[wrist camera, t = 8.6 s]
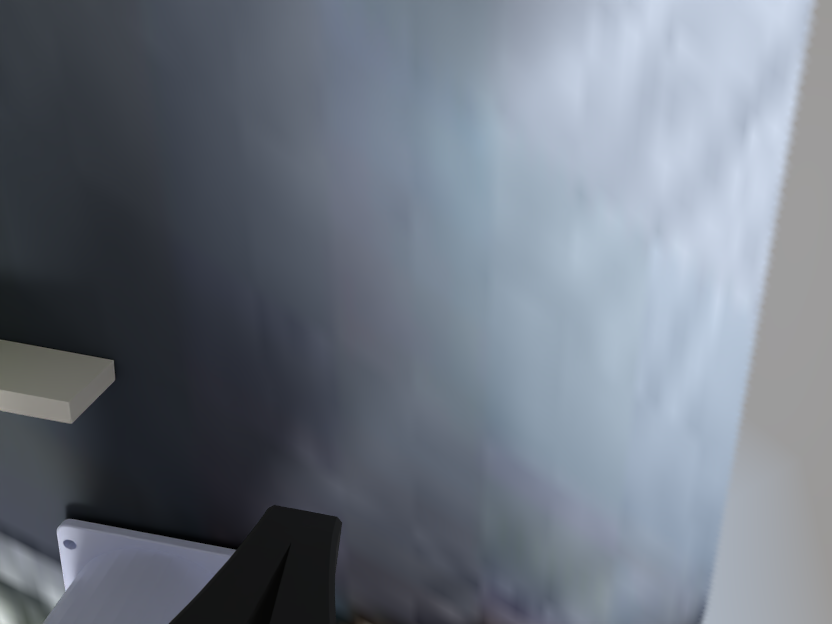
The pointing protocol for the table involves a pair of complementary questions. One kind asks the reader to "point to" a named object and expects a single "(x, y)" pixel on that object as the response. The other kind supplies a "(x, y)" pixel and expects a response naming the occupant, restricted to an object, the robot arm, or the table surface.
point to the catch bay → (50, 381)
